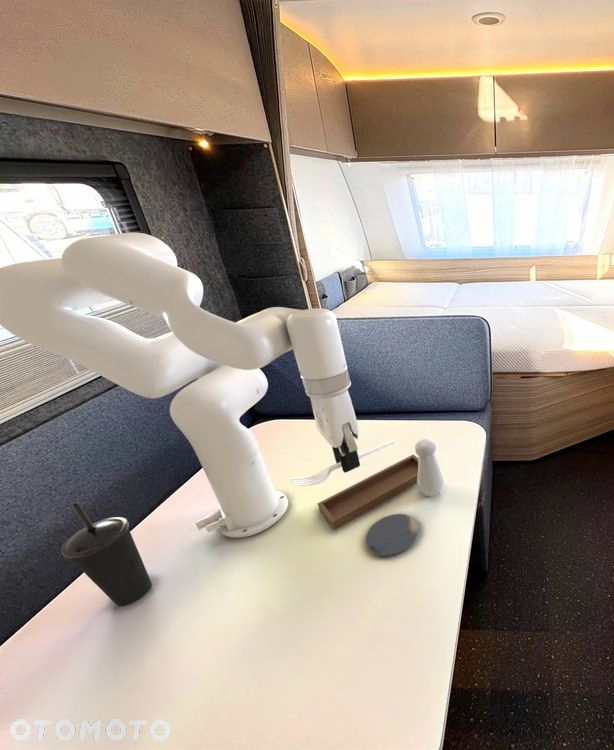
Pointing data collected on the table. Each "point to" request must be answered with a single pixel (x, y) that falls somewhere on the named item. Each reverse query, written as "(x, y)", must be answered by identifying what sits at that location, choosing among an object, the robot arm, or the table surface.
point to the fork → (331, 469)
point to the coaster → (392, 535)
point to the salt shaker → (428, 468)
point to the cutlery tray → (369, 492)
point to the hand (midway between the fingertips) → (348, 464)
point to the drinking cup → (109, 558)
